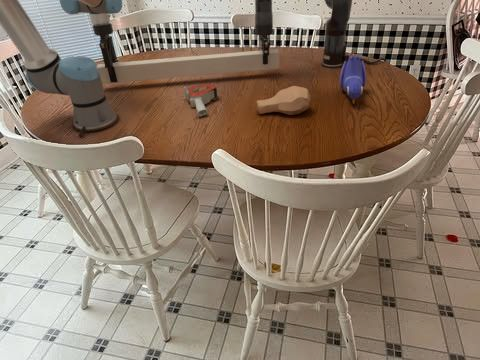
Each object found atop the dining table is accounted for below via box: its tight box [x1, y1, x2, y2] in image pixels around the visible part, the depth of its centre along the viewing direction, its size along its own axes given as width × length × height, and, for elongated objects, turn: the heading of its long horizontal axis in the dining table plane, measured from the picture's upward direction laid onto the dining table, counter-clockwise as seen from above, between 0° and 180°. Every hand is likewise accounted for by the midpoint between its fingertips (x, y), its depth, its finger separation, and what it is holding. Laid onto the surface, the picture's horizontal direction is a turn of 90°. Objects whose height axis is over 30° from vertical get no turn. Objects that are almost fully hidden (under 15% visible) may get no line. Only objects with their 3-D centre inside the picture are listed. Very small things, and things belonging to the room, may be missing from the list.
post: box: [96, 48, 281, 85], centre depth 158 cm, size 80×5×7 cm, turn 96°
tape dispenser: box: [183, 82, 218, 117], centre depth 140 cm, size 18×5×20 cm
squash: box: [255, 85, 312, 116], centre depth 130 cm, size 11×20×9 cm, turn 92°
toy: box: [339, 55, 367, 105], centre depth 136 cm, size 10×17×25 cm
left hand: (115, 79), depth 158 cm, fingers closed on post, 5 cm apart
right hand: (264, 62), depth 160 cm, fingers closed on post, 5 cm apart
